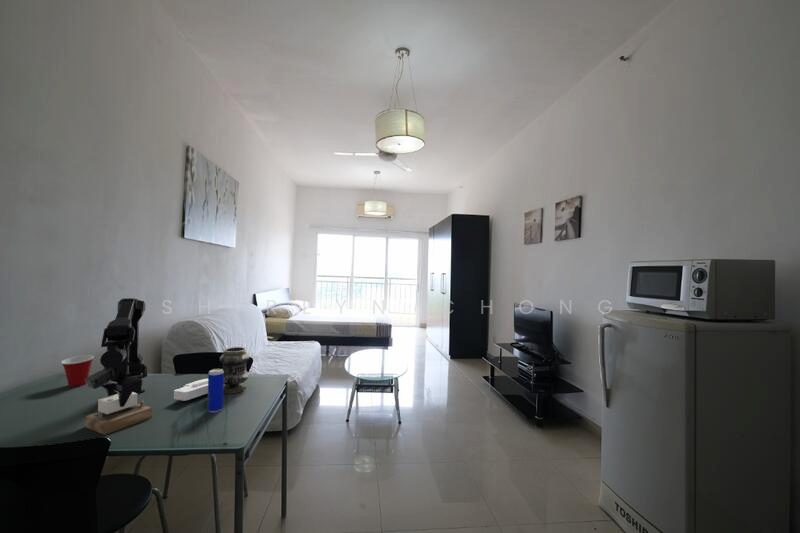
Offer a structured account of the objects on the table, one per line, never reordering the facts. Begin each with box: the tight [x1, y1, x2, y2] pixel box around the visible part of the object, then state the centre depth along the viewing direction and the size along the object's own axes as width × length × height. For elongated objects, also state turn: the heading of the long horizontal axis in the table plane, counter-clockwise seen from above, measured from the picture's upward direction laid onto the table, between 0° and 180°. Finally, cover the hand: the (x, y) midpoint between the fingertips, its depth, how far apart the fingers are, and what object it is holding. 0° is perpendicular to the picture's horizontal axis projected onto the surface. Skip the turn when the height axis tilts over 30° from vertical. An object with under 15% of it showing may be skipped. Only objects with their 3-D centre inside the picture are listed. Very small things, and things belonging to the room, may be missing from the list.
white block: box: [97, 392, 138, 414], centre depth 119 cm, size 6×9×4 cm, turn 156°
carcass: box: [84, 400, 153, 436], centre depth 118 cm, size 12×14×5 cm
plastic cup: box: [60, 354, 95, 388], centre depth 152 cm, size 11×11×12 cm
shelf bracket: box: [173, 377, 227, 402], centre depth 147 cm, size 6×25×13 cm
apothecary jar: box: [219, 346, 250, 394], centre depth 150 cm, size 12×12×18 cm
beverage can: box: [207, 368, 225, 413], centre depth 129 cm, size 5×5×15 cm
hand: (117, 405), depth 119 cm, fingers closed on white block, 5 cm apart
